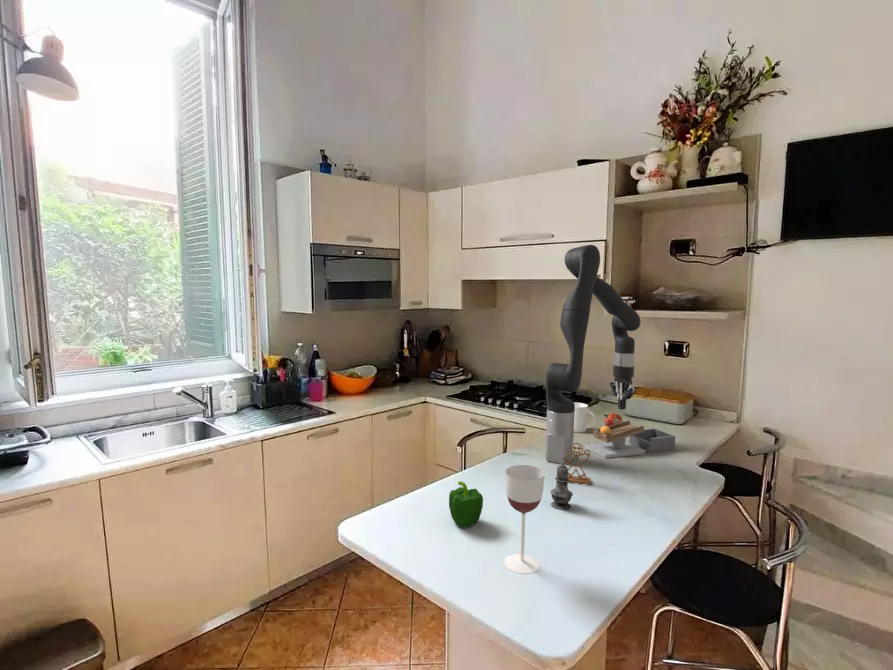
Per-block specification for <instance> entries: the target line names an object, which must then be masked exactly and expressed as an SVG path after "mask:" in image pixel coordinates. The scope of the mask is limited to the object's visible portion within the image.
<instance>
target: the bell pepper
mask: <svg viewBox="0 0 893 670" xmlns="http://www.w3.org/2000/svg"><path fill="white" fill-rule="evenodd" d="M457 484H458V485H459V487H457V488H455V489H451V490H450V492H449V494H448V495H449V496H448V497H449V498H448V507H449V508H448V509H449V511H450V515H451V518H452V520H453V522H454V523H455V524H456V525H457V526H458V527H461V528H470V527H472V526H473V525H475V524H477V523H478V522H479V520H480V517H481V515H482V510H483V505H484V497H483V495H482V493H480V492H479V491H478V489H477V488H470V489H468V486H467V484H466V483H465V482H464V481H462V480H459V481H457Z"/></svg>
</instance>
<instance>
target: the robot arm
mask: <svg viewBox="0 0 893 670" xmlns="http://www.w3.org/2000/svg"><path fill="white" fill-rule="evenodd" d="M600 264H601V253H600V250H599V248H598V246H596V245H594V244H585V245H582V246H578V247H574V248H570V249H569V250H567V252H566V253H565V255H564V265H565V267H566V268H567V270H568V271H569V272H570V273H571V275H572V276H574V277H575V278H576V279H577V281H576V284H575V285H574V287H573V289H572V290H571V292H570V294H569V295H568V296H567V298H566V300H565V301H564V303H563V306H562V309H561V313H560V314H561V315H560V322H559V326H560V329H561V332H562V334H563V337H564V340H565V341H566V344H567V346H568V349H569V354H570V355H569V357H570V359H569V360H570V361H569V363H561V362H551V363H550V364H549V365H548V367H547V368H546V373H545V374H546V375H545V386H546V387H545V388H546V390H545V392H546V393H545V398H546V399H545V401H546V426H545V428H546V429H545V455H544V456H545V457H546V458H545V457H544V458H545V460H546V462H548V461H552V462H551V463H554V462H557V463H556V464H560V463H563V461H564V462H565V463H567V462H568V461H565V460H563V457H564V456H565V455H566V454H568V453H572V452H571V449H572V451H573V450H574V449H573V448H571V445H572V444H573V443H574V433H575V432H574V415H575V404H574V403H575V402H574V401H572V400H571V399H569V398H567V397H566V396H565V395H564V394H563V393H562V392H568V393H569V392H570V393H575V392H577V391H578V390H579V389H580V385H581V382H582V376H583V375H582V372H583V362H584V360H583V359H584V349H585V341H586V336H587V332H588V331H587V330H588V324H589V320H590V313H591V305H592V300H593V296H594V297H596V299H597V300H598V302H599V303H600V305H601V306H602V307H603V309H604V310H605V311H606V312H607V313H608V314H609V315H612V318H611V328H612V334H613V338H614V354H613V361H612V362H613V363H612V364H613V365H612V366H613V367H612V376H613V377H614V378H613V381H611V382H609V386H610V388H611V391H612V394H613V396H614V397H616V399H617V409H619V410H626V408H627V400H630V399H632V397H633V396H634V395H635V393H636V392H637V387H634V385H633V381H632V378H634V376H635V359H636V358H635V349H636V347H635V345H636V341H635V338H633V337H632V336H630V335H629V333H628V331H629V332H634V331H636V330H639V328H640V326H641V323H642V321H641V317H640V315H639V314H638V312H637V311H636V310H635V309H633V307H631V306H630V305H629V304H628V303H626V302H625V301H624V300H623V298H622V296H621V295H620V294H619V292H618V291H617V290H616V289H615V288H614V286H612V285H611V284H609V283H608V282H606V281H605V280H604V279H601V278H600V277H599V276H598V273H599V270H600V266H601V265H600ZM572 447H574V445H573V446H572ZM573 452H574V451H573ZM564 458H565V459H568V460H569V459H570V458H572V461H574V460H573V458H574V455H571V454H570V455H567V456H565V457H564ZM569 463H571V460H569Z"/></svg>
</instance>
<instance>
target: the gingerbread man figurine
mask: <svg viewBox="0 0 893 670" xmlns="http://www.w3.org/2000/svg"><path fill="white" fill-rule="evenodd" d="M574 445H578V447H576V446H574ZM572 446H573V447H572ZM571 448H573V451H572V449H571V452H572V453H568V454H566V455H565V456H567V455H570V454H571V455H573V458H575V459H574V460H575V462H574V463H573V462H572V461H573V460H572V458H570V459H569V460H571V462H569V460H568V459H565V458H564V457H565V456H564V457H563V460H565V461H568V462H567V463H565V462H564V461H563V463H564V465H568V464H569V463H570V466H569V467H568V479H569V481H568V482H571V483H570V484H574V483H578V484H577V485H582V484H587V485H586V486H591V477H588V476H587V474H586V473H585V471H584V470H583V467H582V462H585V461H588V459H590V457H591V450H589V449H584V447H583V445H582V444H581V443H579V442H573V444H572V445H571ZM576 449H577V450H578V451H576ZM583 450H584V451H583ZM587 452H588V453H587ZM584 455H585V456H587V457H586V458H584V459H580V460H579V461H580V464H578V462H577V461H578V458H580V456H581V457H582V456H584ZM572 467H577V468H580V470H581V471H582V473H583V474H580V473H579V471H578V469H577V468H574V470H573V472H572V473H570V472H569V471H570V469H571V468H572ZM575 472H576V473H577V475H578V476H577V475H574V474H575Z"/></svg>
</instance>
